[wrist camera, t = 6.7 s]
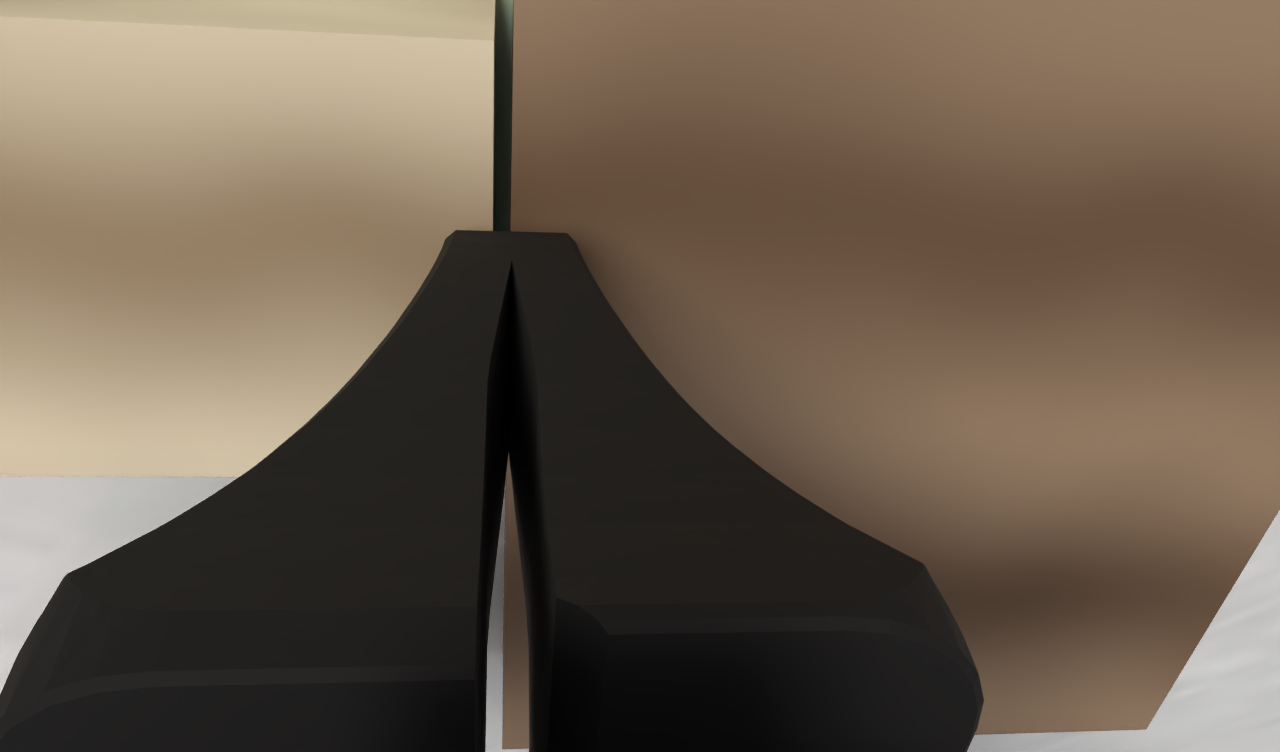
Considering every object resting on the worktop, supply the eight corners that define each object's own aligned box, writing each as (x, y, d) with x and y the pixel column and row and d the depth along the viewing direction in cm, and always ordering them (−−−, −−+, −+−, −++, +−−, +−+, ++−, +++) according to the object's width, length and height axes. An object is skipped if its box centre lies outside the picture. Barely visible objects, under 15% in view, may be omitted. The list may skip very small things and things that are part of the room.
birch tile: (492, 384, 16) (491, 476, 15) (-88, 378, 15) (-155, 476, 14) (495, -25, 13) (494, 41, 11) (-264, -68, 12) (-383, -3, 10)
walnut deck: (1102, 643, 22) (1146, 729, 21) (503, 656, 21) (502, 749, 19) (1832, -749, 10) (2069, -794, 9) (526, -955, 9) (530, -1054, 7)
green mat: (507, 410, 17) (506, 427, 17) (-79, 407, 16) (-91, 424, 16) (521, -616, 10) (523, -620, 10) (-540, -743, 9) (-579, -754, 9)
